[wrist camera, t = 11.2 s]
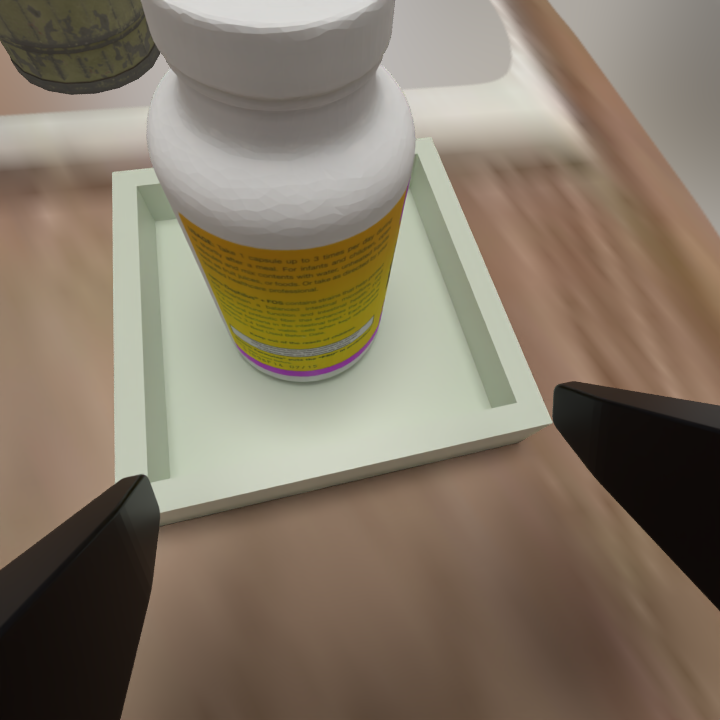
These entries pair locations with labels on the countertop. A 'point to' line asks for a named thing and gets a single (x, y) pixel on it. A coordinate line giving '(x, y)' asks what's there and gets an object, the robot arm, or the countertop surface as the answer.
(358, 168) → the supplement bottle
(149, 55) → the thermos
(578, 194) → the countertop surface
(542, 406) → the tray
